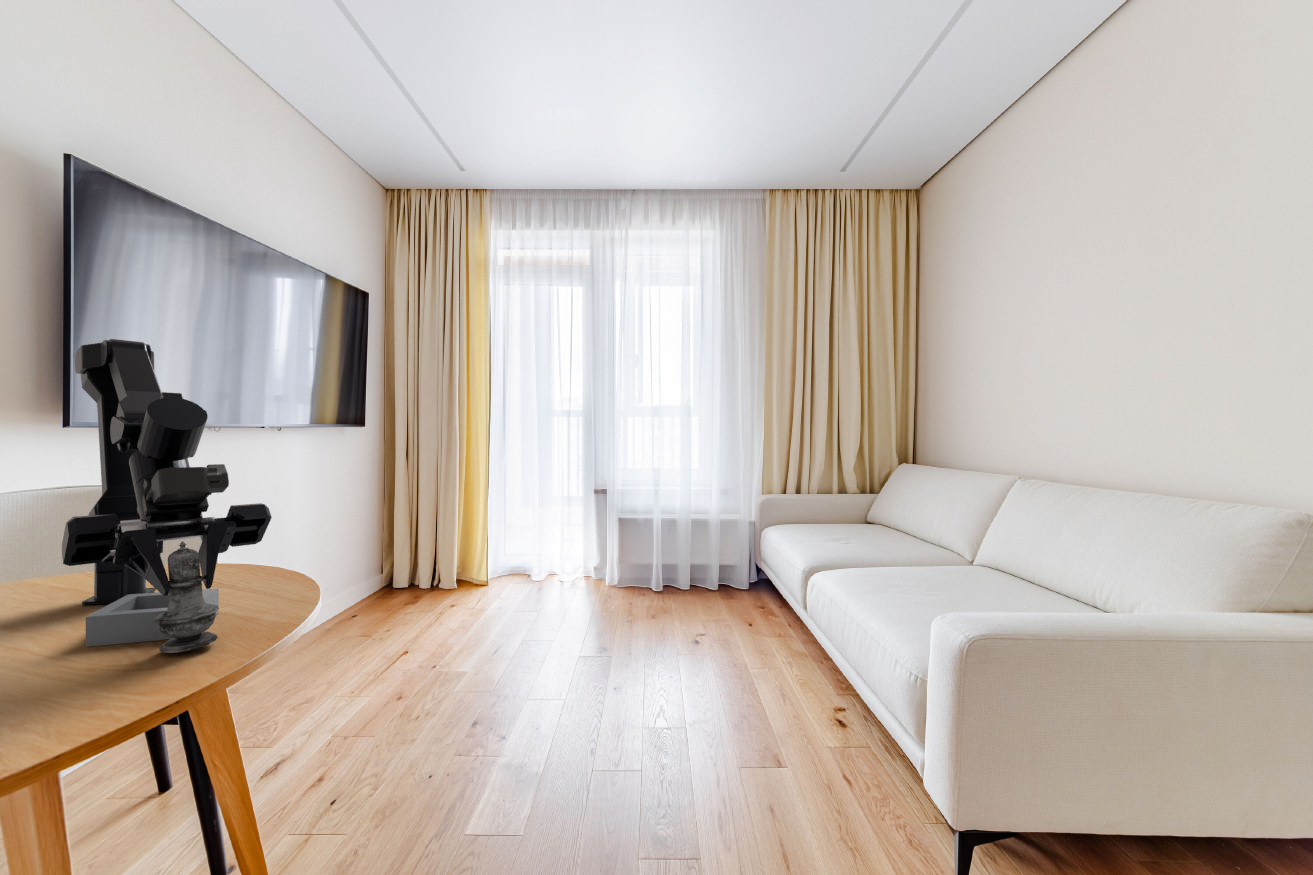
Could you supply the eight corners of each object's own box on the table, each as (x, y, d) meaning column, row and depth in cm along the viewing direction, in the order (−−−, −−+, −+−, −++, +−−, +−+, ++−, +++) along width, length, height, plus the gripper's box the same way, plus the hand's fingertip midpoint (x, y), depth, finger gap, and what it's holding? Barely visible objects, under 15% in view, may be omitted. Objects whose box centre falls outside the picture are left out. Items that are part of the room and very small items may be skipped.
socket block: (127, 620, 77) (128, 594, 77) (218, 613, 80) (218, 588, 80) (85, 646, 67) (85, 616, 67) (189, 637, 71) (190, 608, 71)
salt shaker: (184, 655, 64) (177, 548, 63) (141, 652, 65) (134, 546, 64) (233, 634, 69) (227, 536, 69) (193, 631, 71) (186, 534, 70)
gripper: (67, 442, 62) (83, 561, 55) (267, 442, 76) (299, 536, 70) (55, 508, 67) (69, 625, 60) (245, 496, 81) (274, 589, 75)
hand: (188, 590), depth 66 cm, fingers closed on salt shaker, 3 cm apart
